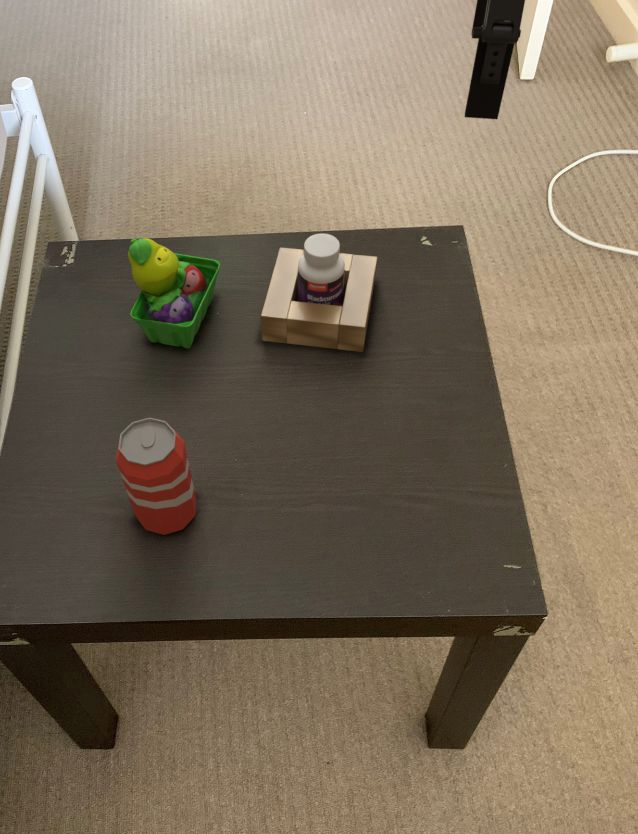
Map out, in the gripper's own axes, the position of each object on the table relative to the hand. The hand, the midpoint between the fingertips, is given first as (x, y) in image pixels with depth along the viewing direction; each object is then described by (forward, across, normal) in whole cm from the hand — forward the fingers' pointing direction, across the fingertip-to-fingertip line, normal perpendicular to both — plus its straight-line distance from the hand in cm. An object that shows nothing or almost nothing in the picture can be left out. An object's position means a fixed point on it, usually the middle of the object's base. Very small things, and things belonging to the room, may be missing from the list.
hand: (483, 73), depth 67 cm
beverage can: (+29, +33, -25) cm, 50 cm away
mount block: (+28, +2, -14) cm, 32 cm away
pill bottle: (+29, +2, -14) cm, 32 cm away
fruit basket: (+28, +6, -31) cm, 42 cm away
